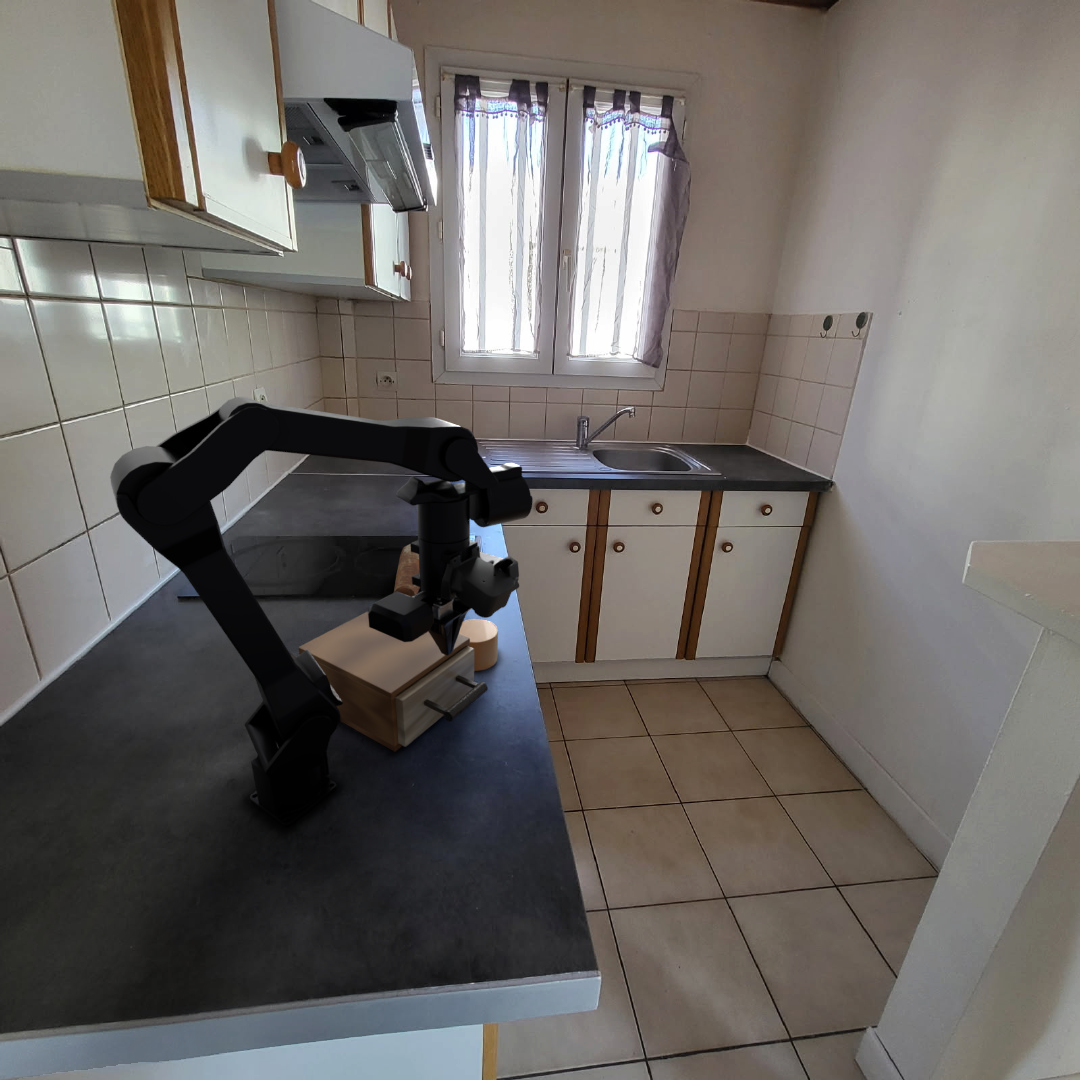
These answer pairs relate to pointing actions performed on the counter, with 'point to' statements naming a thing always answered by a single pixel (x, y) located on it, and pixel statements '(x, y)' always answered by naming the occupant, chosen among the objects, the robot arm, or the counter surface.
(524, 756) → the counter surface
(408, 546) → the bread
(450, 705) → the drawer
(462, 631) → the tan round cylinder
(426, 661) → the cabinet
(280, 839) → the counter surface
